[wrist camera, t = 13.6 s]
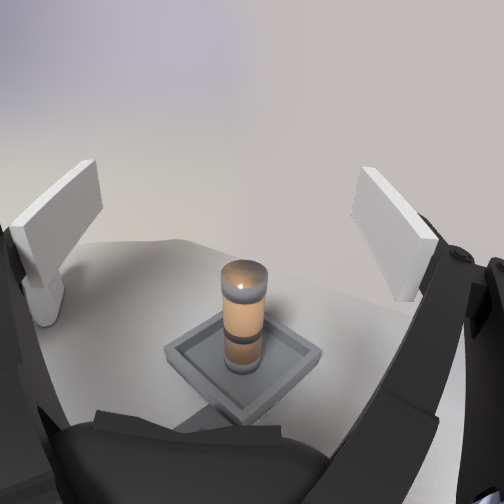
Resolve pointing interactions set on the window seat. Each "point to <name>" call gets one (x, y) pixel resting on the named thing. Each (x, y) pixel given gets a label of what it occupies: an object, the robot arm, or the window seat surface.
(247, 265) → the fuse
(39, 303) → the grey rounded slab
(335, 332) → the window seat surface
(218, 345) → the parts tray
